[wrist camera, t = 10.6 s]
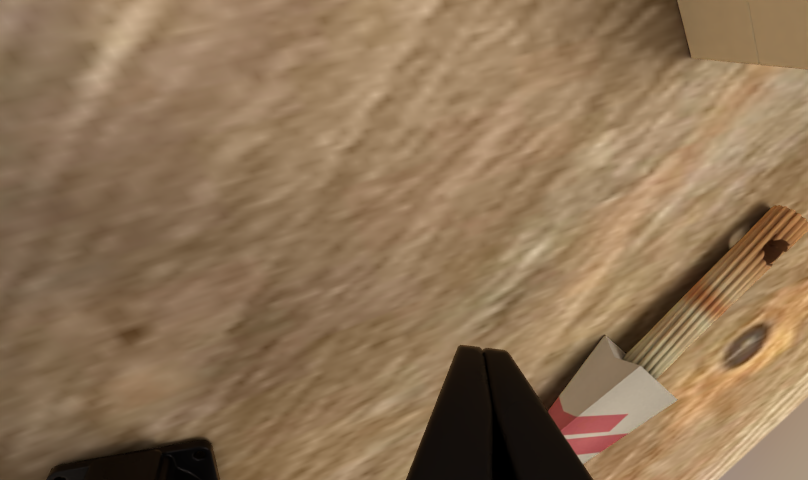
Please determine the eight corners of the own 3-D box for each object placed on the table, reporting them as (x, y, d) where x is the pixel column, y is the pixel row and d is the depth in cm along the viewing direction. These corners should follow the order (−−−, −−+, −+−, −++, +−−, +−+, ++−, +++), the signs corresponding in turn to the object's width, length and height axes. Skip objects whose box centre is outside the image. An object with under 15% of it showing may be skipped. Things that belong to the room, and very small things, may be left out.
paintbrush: (496, 507, 24) (807, 202, 22) (474, 463, 26) (751, 186, 24) (541, 532, 26) (834, 251, 24) (517, 489, 28) (780, 231, 26)
